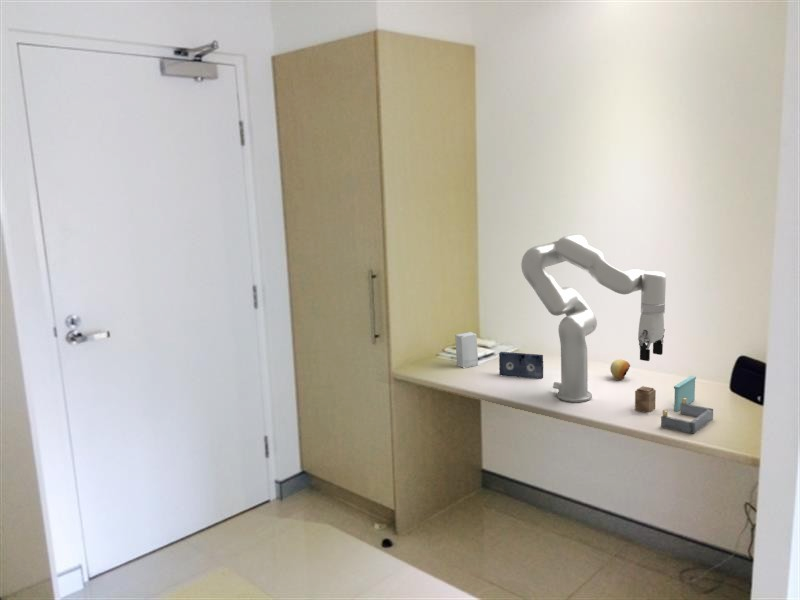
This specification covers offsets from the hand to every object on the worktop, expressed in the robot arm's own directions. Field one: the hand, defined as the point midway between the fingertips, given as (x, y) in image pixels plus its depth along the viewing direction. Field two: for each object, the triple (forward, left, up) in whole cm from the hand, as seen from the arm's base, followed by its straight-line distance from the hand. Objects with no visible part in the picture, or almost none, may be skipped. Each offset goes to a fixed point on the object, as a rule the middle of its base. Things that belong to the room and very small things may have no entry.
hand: (651, 357), depth 220 cm
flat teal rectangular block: (+7, +12, -19) cm, 24 cm away
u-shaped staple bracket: (+14, -4, -19) cm, 24 cm away
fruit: (-25, +27, -20) cm, 42 cm away
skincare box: (-88, +7, -20) cm, 90 cm away
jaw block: (-2, 0, -19) cm, 19 cm away
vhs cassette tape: (-59, +7, -20) cm, 63 cm away
